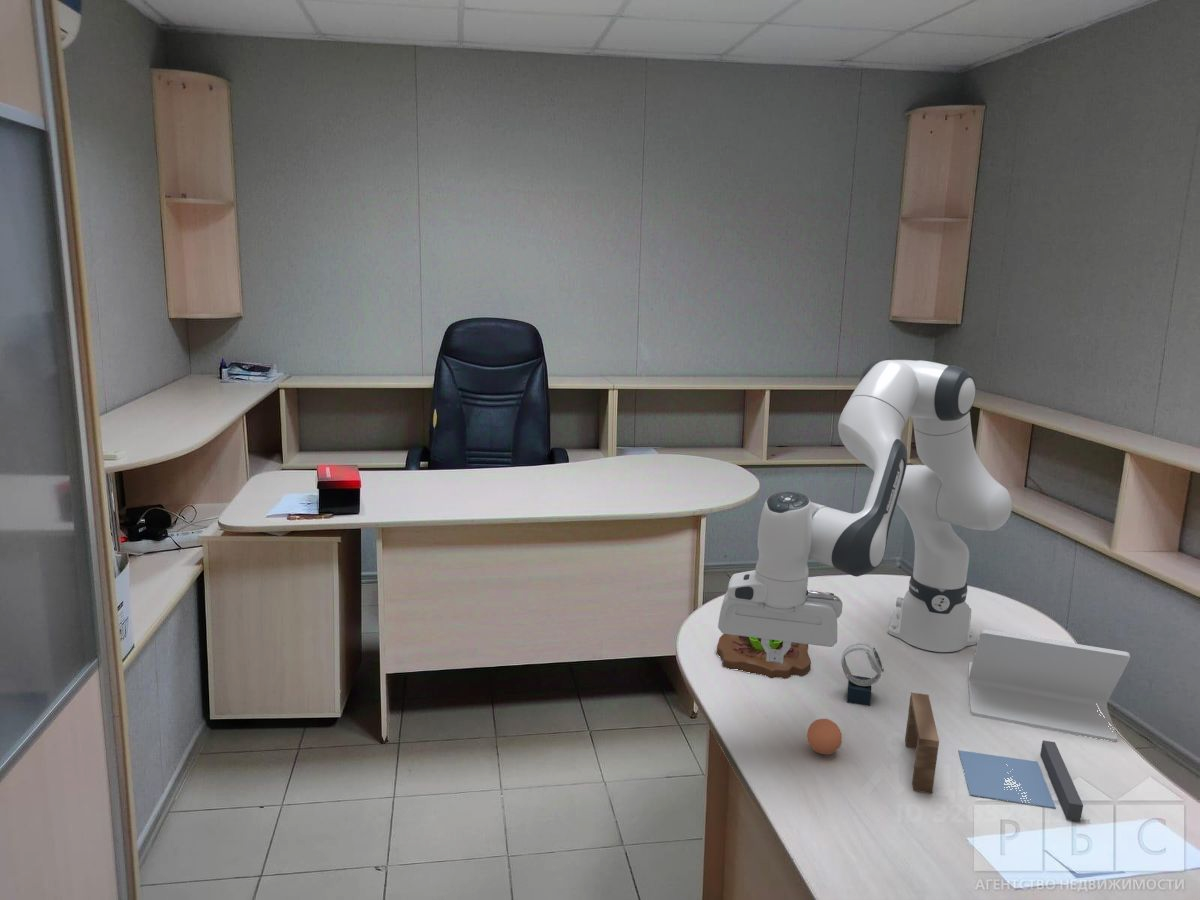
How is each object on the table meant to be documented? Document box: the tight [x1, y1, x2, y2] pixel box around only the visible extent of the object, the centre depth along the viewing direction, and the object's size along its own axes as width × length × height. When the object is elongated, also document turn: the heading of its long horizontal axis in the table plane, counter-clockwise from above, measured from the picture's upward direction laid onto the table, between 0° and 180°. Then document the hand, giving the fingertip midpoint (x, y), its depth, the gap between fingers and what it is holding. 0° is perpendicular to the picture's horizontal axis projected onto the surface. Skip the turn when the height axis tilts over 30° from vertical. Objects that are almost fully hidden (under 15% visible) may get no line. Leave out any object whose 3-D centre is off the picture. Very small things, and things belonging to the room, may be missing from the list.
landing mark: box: [958, 749, 1057, 810], centre depth 152 cm, size 13×13×1 cm
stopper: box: [1039, 740, 1084, 823], centre depth 150 cm, size 18×2×3 cm, turn 167°
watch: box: [840, 643, 885, 707], centre depth 175 cm, size 6×8×11 cm
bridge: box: [904, 692, 940, 794], centre depth 154 cm, size 3×15×10 cm, turn 167°
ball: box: [806, 718, 843, 755], centre depth 158 cm, size 6×6×6 cm
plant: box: [716, 633, 812, 679], centre depth 192 cm, size 20×20×11 cm
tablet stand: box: [967, 629, 1131, 743], centre depth 173 cm, size 18×25×17 cm
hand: (774, 660), depth 156 cm, fingers closed
